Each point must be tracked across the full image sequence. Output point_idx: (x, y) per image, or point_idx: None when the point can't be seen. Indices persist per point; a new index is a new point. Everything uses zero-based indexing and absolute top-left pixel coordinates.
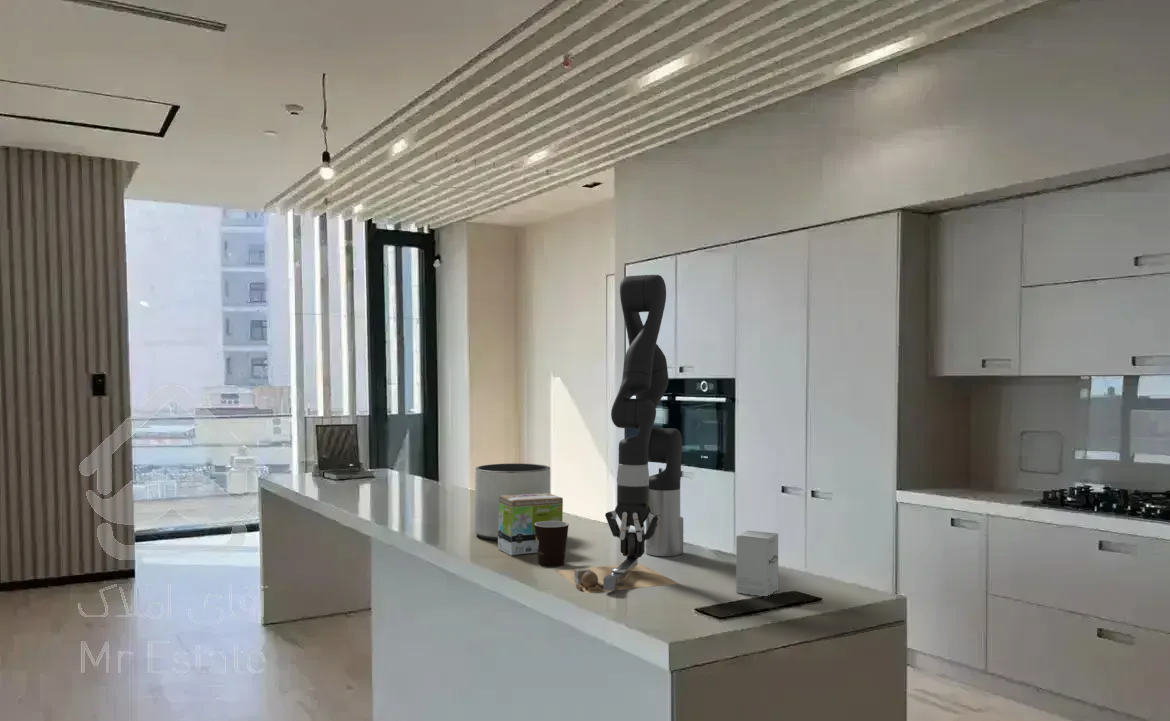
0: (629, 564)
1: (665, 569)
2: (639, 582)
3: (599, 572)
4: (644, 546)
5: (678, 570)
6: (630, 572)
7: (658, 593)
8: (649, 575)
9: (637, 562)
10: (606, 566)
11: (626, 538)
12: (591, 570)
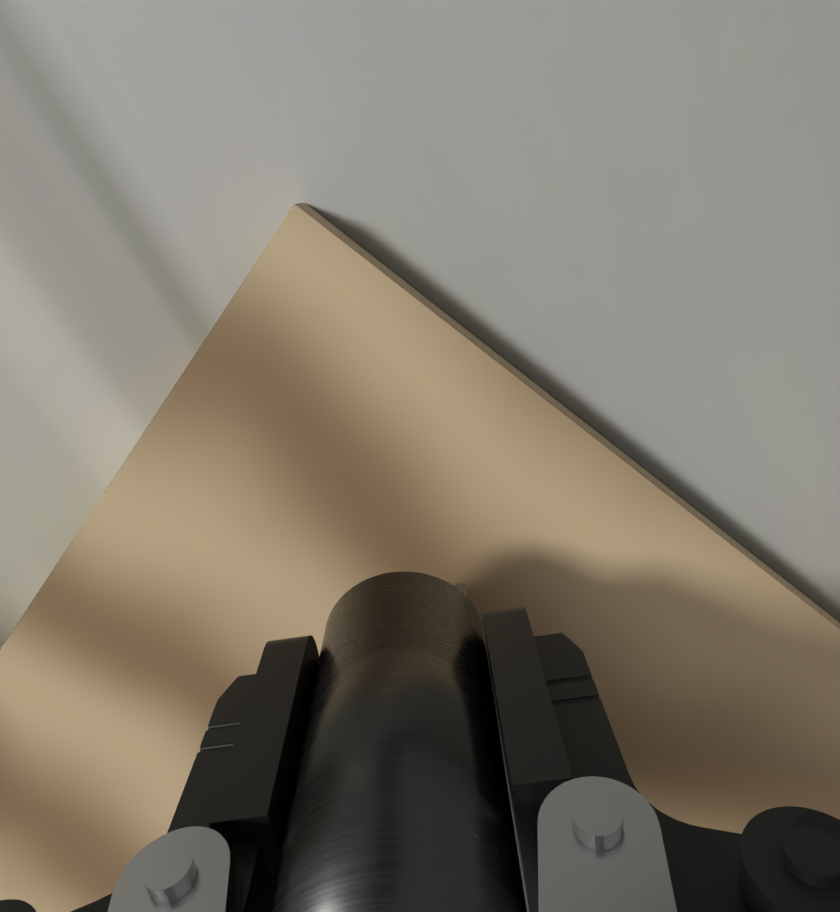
0: (523, 884)
1: (631, 72)
2: None
3: (186, 779)
4: (606, 720)
5: (811, 25)
6: None
7: None
8: (660, 659)
9: (467, 597)
10: (77, 565)
11: (264, 899)
12: (76, 759)
